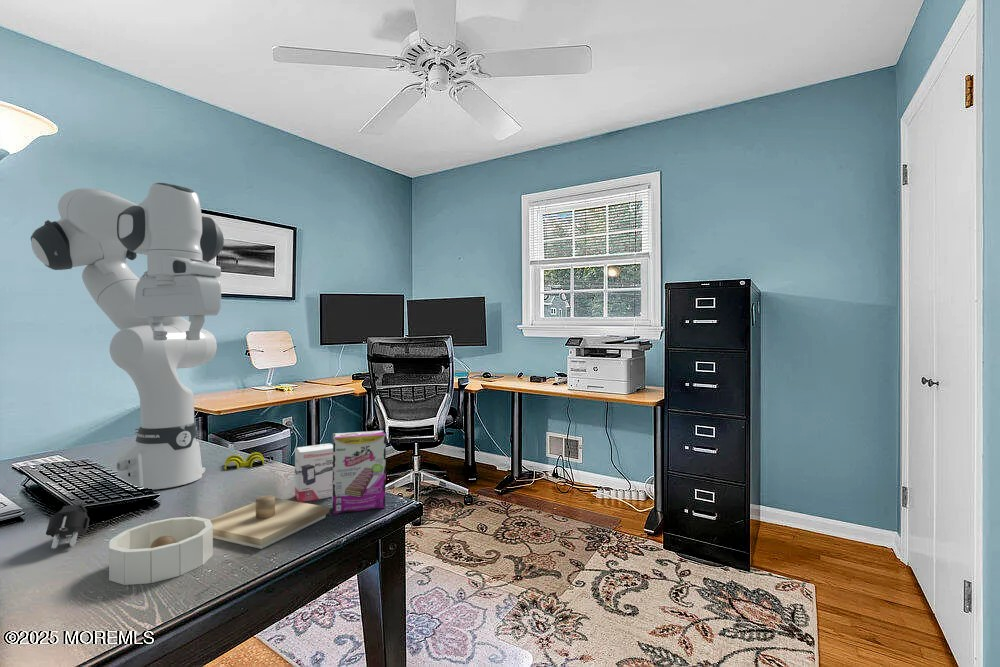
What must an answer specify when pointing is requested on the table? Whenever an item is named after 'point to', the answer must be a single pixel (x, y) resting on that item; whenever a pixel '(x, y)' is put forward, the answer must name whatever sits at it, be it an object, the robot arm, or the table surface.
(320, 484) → the ink box
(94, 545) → the table surface
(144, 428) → the robot arm
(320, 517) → the mat
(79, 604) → the table surface
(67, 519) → the power plug
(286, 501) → the lid
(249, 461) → the opera glasses
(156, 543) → the walnut
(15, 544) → the table surface
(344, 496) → the candy bar box
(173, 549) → the bowl
